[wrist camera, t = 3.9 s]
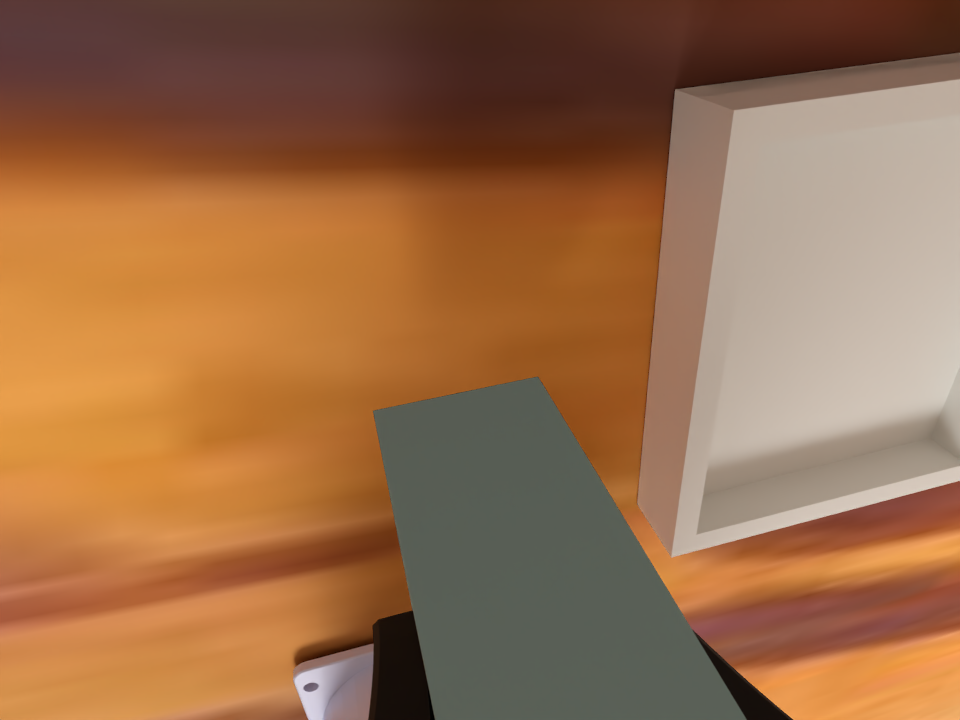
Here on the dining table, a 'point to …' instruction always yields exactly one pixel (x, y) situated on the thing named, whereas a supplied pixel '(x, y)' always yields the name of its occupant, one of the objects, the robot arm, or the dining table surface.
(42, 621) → the dining table surface
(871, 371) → the tray
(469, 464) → the teal block
